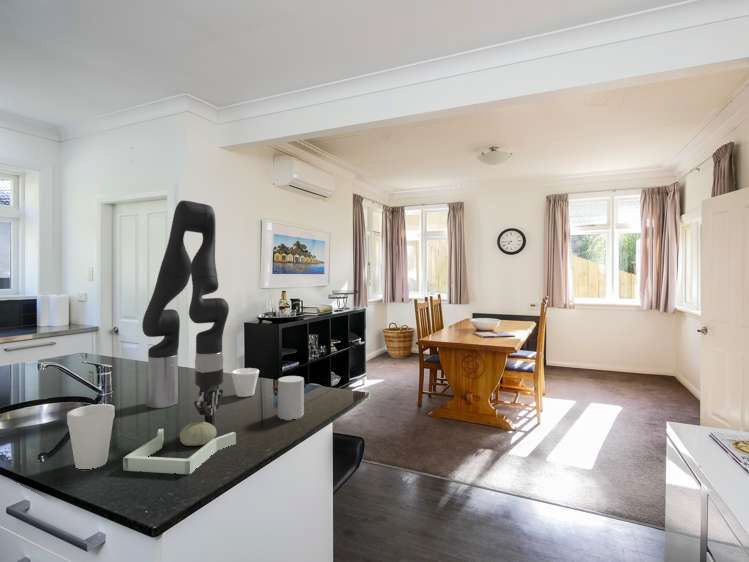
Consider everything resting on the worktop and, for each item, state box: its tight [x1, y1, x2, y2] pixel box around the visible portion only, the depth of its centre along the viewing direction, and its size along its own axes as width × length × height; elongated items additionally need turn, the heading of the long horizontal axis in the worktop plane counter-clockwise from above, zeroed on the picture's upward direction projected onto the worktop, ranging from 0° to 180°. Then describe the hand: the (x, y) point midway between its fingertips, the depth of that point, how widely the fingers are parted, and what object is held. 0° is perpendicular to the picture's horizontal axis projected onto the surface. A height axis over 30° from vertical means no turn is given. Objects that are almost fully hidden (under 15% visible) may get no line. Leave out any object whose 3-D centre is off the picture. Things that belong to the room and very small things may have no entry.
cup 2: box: [277, 375, 305, 421], centre depth 135 cm, size 8×8×12 cm
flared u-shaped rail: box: [122, 428, 237, 475], centre depth 105 cm, size 22×18×3 cm
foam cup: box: [66, 403, 116, 470], centre depth 100 cm, size 10×9×13 cm
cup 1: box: [231, 367, 260, 398], centre depth 157 cm, size 10×10×9 cm
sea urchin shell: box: [179, 421, 218, 447], centre depth 114 cm, size 9×8×8 cm
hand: (209, 427), depth 120 cm, fingers closed
